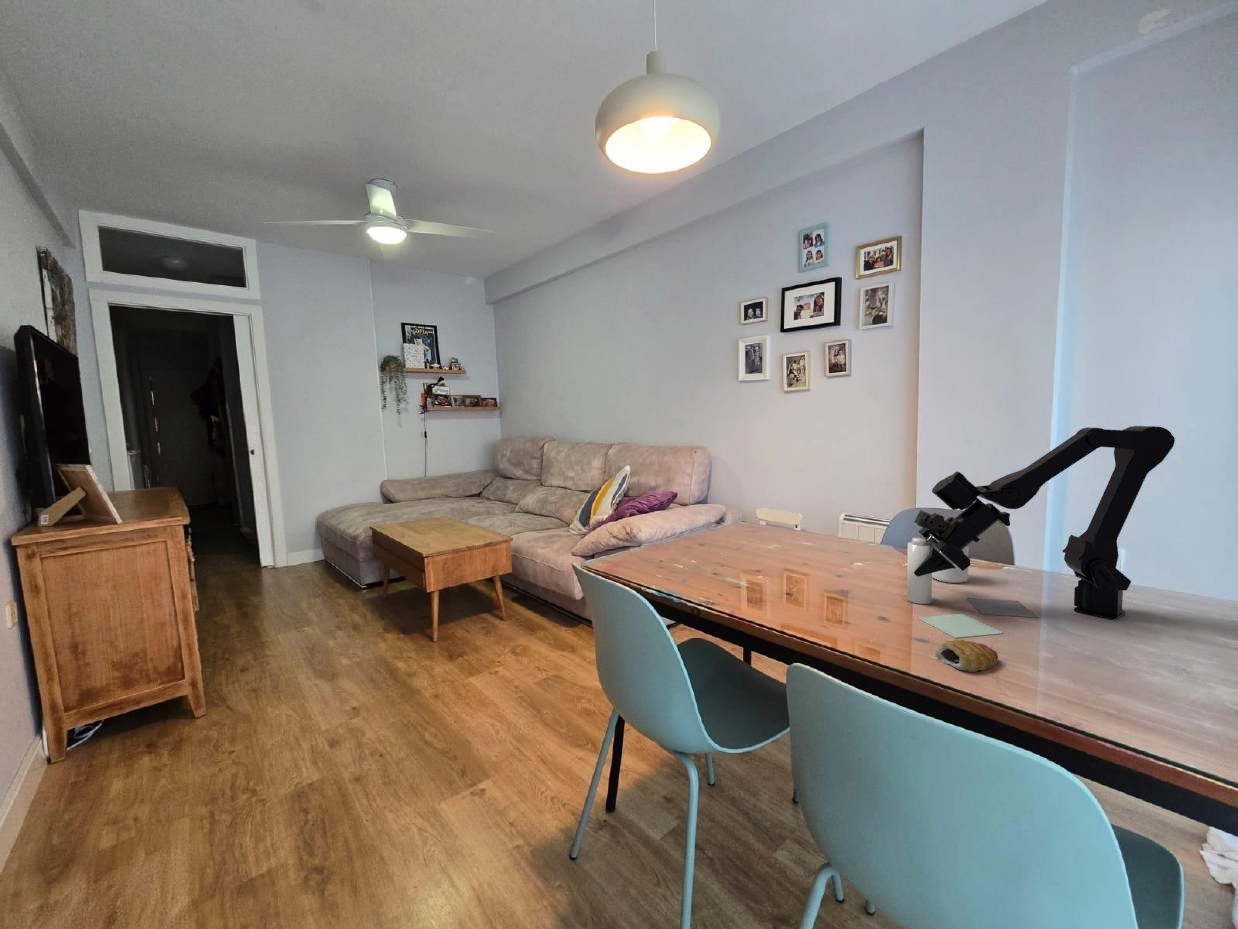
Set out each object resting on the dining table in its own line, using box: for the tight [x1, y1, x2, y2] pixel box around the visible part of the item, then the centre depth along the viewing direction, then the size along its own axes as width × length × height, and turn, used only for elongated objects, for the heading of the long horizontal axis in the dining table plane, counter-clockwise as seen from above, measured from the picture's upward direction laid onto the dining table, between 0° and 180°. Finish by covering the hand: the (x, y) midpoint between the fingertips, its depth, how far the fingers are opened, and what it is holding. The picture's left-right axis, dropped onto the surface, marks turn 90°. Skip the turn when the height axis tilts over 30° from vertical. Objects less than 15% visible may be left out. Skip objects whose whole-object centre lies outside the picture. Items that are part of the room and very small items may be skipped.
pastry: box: [935, 639, 999, 673], centre depth 87 cm, size 9×7×4 cm
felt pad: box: [965, 597, 1040, 619], centre depth 110 cm, size 10×10×1 cm
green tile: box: [917, 613, 1004, 639], centre depth 102 cm, size 10×10×1 cm
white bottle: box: [906, 536, 933, 605], centre depth 115 cm, size 5×5×14 cm
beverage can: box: [932, 545, 969, 584], centre depth 130 cm, size 8×8×12 cm
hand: (912, 571), depth 116 cm, fingers closed on white bottle, 5 cm apart
